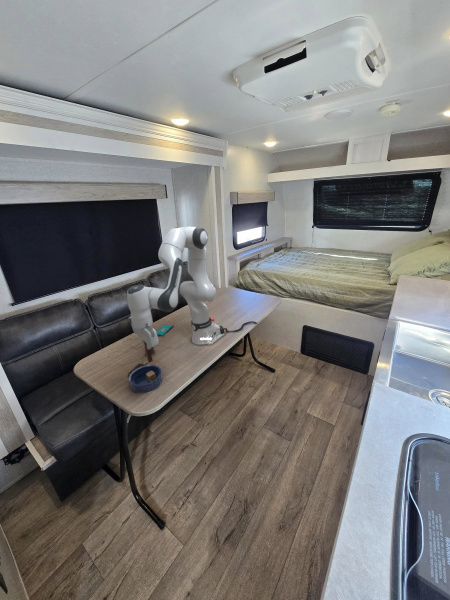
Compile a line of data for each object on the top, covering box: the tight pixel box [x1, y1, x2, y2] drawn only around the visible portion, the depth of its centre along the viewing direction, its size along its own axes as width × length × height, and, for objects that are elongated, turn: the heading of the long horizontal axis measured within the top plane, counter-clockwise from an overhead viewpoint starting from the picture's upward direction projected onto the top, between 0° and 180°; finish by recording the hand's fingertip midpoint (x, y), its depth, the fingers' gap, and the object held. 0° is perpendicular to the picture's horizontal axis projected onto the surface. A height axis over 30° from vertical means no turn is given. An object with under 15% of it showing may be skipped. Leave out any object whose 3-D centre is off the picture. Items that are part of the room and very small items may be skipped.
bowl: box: [128, 364, 164, 394], centre depth 120 cm, size 16×16×5 cm
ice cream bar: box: [127, 359, 149, 376], centre depth 131 cm, size 5×2×15 cm
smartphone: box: [156, 324, 174, 337], centre depth 171 cm, size 7×1×15 cm
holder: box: [143, 345, 155, 356], centre depth 144 cm, size 5×5×6 cm
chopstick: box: [143, 341, 154, 364], centre depth 114 cm, size 2×2×15 cm
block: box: [146, 371, 156, 382], centre depth 122 cm, size 4×4×4 cm
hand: (147, 347), depth 114 cm, fingers closed on chopstick, 2 cm apart
